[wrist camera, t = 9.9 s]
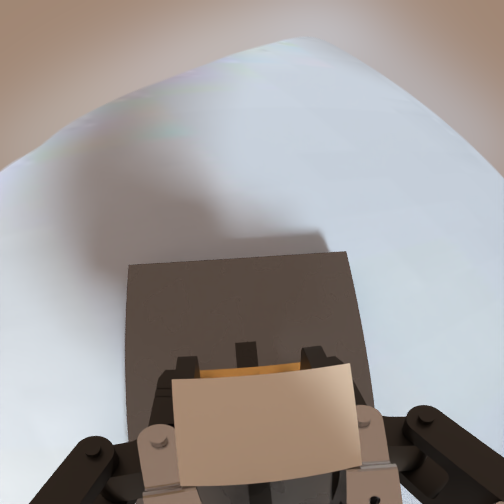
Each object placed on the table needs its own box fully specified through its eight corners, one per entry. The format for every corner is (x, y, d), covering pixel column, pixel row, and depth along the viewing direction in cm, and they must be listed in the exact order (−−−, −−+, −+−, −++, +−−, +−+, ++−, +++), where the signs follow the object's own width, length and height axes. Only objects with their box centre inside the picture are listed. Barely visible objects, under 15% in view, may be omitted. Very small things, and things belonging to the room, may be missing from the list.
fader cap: (299, 437, 13) (362, 465, 6) (210, 445, 13) (179, 486, 5) (294, 385, 14) (350, 362, 7) (205, 392, 14) (170, 378, 7)
